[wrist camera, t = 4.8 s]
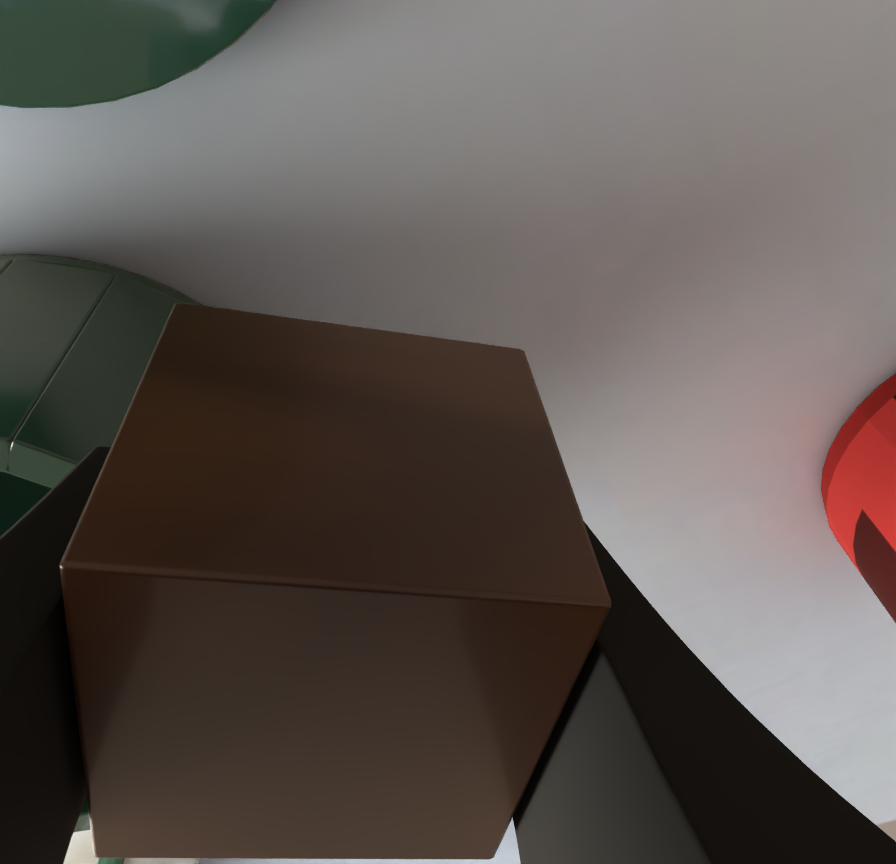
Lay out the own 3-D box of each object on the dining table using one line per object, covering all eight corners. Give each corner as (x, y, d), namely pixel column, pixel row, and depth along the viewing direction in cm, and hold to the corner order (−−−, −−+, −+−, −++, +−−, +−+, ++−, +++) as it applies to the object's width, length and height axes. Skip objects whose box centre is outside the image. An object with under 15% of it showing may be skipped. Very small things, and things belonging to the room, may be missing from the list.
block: (174, 561, 12) (91, 860, 8) (174, 300, 9) (56, 565, 6) (455, 581, 12) (494, 862, 9) (525, 347, 10) (615, 605, 6)
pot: (-241, 499, 19) (-464, 728, 14) (-50, 135, 15) (-275, 272, 10) (170, 666, 24) (118, 879, 19) (405, 433, 20) (419, 628, 15)
